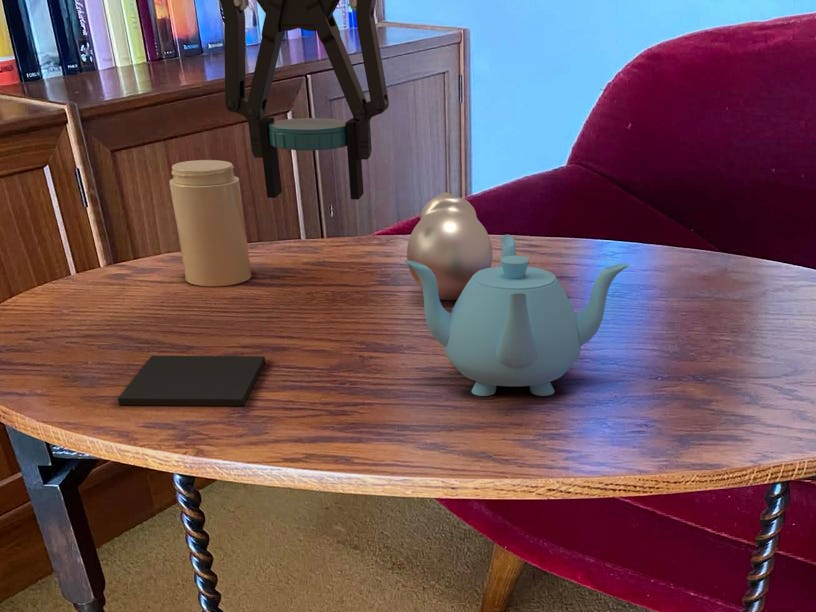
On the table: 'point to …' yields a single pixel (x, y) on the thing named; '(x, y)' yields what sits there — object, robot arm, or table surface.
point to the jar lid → (308, 134)
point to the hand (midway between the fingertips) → (315, 195)
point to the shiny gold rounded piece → (449, 244)
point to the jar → (210, 223)
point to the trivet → (194, 381)
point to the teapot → (513, 323)
